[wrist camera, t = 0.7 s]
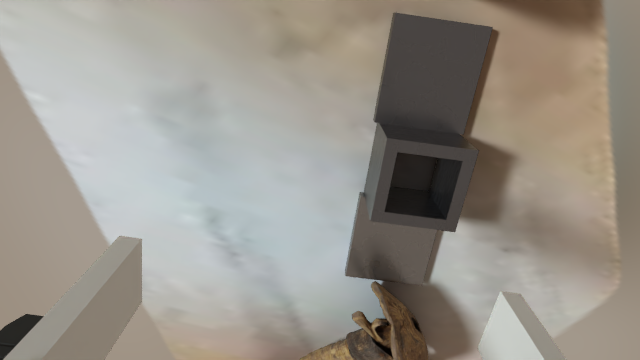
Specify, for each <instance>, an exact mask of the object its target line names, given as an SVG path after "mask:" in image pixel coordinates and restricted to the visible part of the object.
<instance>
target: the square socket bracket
mask: <svg viewBox="0 0 640 360" xmlns="http://www.w3.org/2000/svg"><path fill="white" fill-rule="evenodd" d="M492 28H493V27H488V26H481V25H474V24H468V23H461V22H454V21H447V20H441V19H434V18H427V17H421V16H414V15H407V14H400V13H393V18H392V23H391V28H390V34H389V39H388V44H387V50H386V55H385V60H384V66H383V71H382V76H381V82H380V87H379V92H378V98H377V103H376V108H375V114H374V119H373V120H374V122H376V123H377V127H376V132H375V137H374V142H373V148H372V153H371V158H370V163H369V169H368V174H367V179H366V184H365V189H364V193H361V192H360V194H359V199H358V204H357V210H356V215H355V220H354V226H353V231H352V236H351V242H350V247H349V252H348V258H347V263H346V268H345V275H346V276H350V277H358V278H366V279H374V280H382V281H390V282H399V283H407V284H415V285H422V284H423V280H424V276H425V273H426V269H427V265H428V262H429V258H430V254H431V251H432V247H433V243H434V240H435V236H436V233H437V230H442V231H450V232H455V231H456V227H457V224H458V220H459V217H460V213H461V210H462V207H463V203H464V200H465V196H466V193H467V190H468V186H469V183H470V179H471V176H472V172H473V169H474V166H475V162H476V159H477V155H478V152H479V150H478V149H476V148H475V147H474V146H473V145H472V144H470V143H469V142H468V141H467V140H466V139H464V138H463V137H462V136H461V135H460V134H464V130H465V127H466V123H467V119H468V116H469V112H470V108H471V105H472V101H473V98H474V94H475V90H476V87H477V83H478V79H479V76H480V72H481V68H482V65H483V61H484V57H485V54H486V50H487V46H488V43H489V39H490V35H491V32H492ZM397 152H400V153H407V154H415V155H422V156H430V157H437V162H436V166H435V170H434V174H433V178H432V182H431V186H430V190H429V192H428V191H420V190H412V189H405V188H397V187H390V184H391V179H392V175H393V170H394V166H395V161H396V156H397Z"/></svg>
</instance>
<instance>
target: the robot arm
mask: <svg viewBox="0 0 640 360" xmlns="http://www.w3.org/2000/svg"><path fill="white" fill-rule="evenodd" d="M141 302H142V239H139V238H132V237H125V236H119V237H118V238H117V239H116V240H115V241H114V242H113V243H112V244H111V246H110V247H109V248H108V249H107V250H106V251H105V252H104V253H103V254H102V255H101V256H100V257H99V258H98V260H96V261H95V263H94V264H93V265H92V266H91V267H90V268H89V269H88V270H87V271H86V272H85V273H84V274H83V275H82V276H81V278H79V280H78V281H77V282H76V283H75V284H74V285H73V286H72V287H71V288H70V289H69V290H68V291H67V292H66V294H64V296H63V297H62V298H61V299H60V300H59V301H58V302H57V303H56V304H55V305H54V306H53V307H52V308H51V309H50V310H49V312H47V314H46V315H45V316H37V315H30V314H25V315H24V316H22V317H20V318H18V319H17V320H15V321H13V322H11V323H10V324H8V325H6V326H5V327H4V328H3V329H2V330H1V331H0V360H105V358H106V356H107V355H108V353H109V352H110V350H111V349H112V347H113V345H114V344H115V342H116V341H117V339H118V338H119V336H120V335H121V333H122V332H123V330H124V329H125V327H126V326H127V324H128V322H129V321H130V319H131V318H132V316H133V315H134V313H135V312H136V310H137V308H138V307H139V305H140V304H141ZM478 350H479V352H480V354H481V356H482V358H483V360H567V359H566V358H565V356H564V355H563V353H562V352H561V351H560V349H559V348H558V346H557V345H556V344H555V342H554V341H553V339H552V338H551V336H550V335H549V334H548V332H547V331H546V329H545V328H544V327H543V325H542V324H541V322H540V321H539V319H538V318H537V317H536V315H535V314H534V312H533V311H532V310H531V308H530V307H529V305H528V304H527V302H526V301H525V300H524V298H523V297H522V295H521V294H517V293H510V292H503V291H500V294H499V296H498V299H497V301H496V304H495V306H494V309H493V311H492V314H491V316H490V319H489V321H488V323H487V326H486V328H485V331H484V333H483V336H482V338H481V341H480V343H479V346H478Z"/></svg>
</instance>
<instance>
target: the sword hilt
mask: <svg viewBox="0 0 640 360" xmlns="http://www.w3.org/2000/svg"><path fill="white" fill-rule="evenodd" d="M371 287H372V290H373V292H374V293H375V294H376V296H377V297H378V298H379V301H380V306H381V307H382V309H383V314H384V316H385V317H386V319H379V318H376V319H375V320H374V321H373V322H372V323H370V322H369V321H368V320H367V319H366V317H365V315H364V314H363V312H360V311H357V312H355V313H354V314H352V319H353V320H354V321H355V322H356V323H357V324H358V325H359V326H361V327H362V329H359V330H357V331H354V332H351V333H349V334H347V337H346V339H345V340H343V341H338V342H337V343H334V344H330V345H328V346H326V347H324V348H320V349H318V350H316V351H314V352H311V353H309V354H308V355H307V356H305V357H302V358H301V359H300V360H428V351H427V346H426V342H425V338H424V336H423V333H422V331H421V329H420V327H419V324H418V322H417V320H416V318H415V317H414V315H413V314H412V313H411V312H410V311H409V310H408V309H407V308H406V307H405V305H404V304H403V303H402V302H400V301H399V300H398V299H397V298H396V297H394V296H393V295H392V294H391V293H389V292H388V291H387V290H386V289H385V288H384V287H383V286H381V285H380V284H379V283H377V282H376V281H375V282H373V283H372V284H371ZM388 322H389V323H390V325H389V323H388ZM379 325H387V326H383V327H380V326H379Z"/></svg>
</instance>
